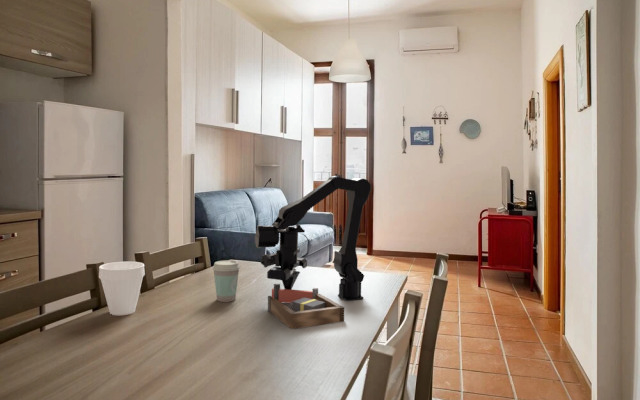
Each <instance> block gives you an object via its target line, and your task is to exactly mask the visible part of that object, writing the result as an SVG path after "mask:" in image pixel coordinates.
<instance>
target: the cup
mask: <svg viewBox="0 0 640 400" xmlns="http://www.w3.org/2000/svg"><path fill="white" fill-rule="evenodd" d="M98 271H99V272H98V278H99V279H100V282H101V285H102V290H103V292H104V296H105V299H106V304H107V308H108V311H109V314H110V315H111V314H112V315H111V316H127V315H132V314H134V313H135V312H136V309H137V308H136V307H137V304H138V300H139V296H140V293H141V287H142V282H143V278H144V277H145V275H146V273H145V263H144V262H139V261H128V260H127V261H116V262H115V261H114V262H113V261H112V262H108V263H104V264H101V265H99V267H98Z"/></svg>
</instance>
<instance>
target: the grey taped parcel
mask: <svg viewBox="0 0 640 400" xmlns="http://www.w3.org/2000/svg"><path fill="white" fill-rule="evenodd" d="M321 308H326V302H322V301H318V300H315V299H309V298H301V299H298V300H295V301H292V303H291V310H292V311H294V312H298V311H306V310H314V309H321Z"/></svg>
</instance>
